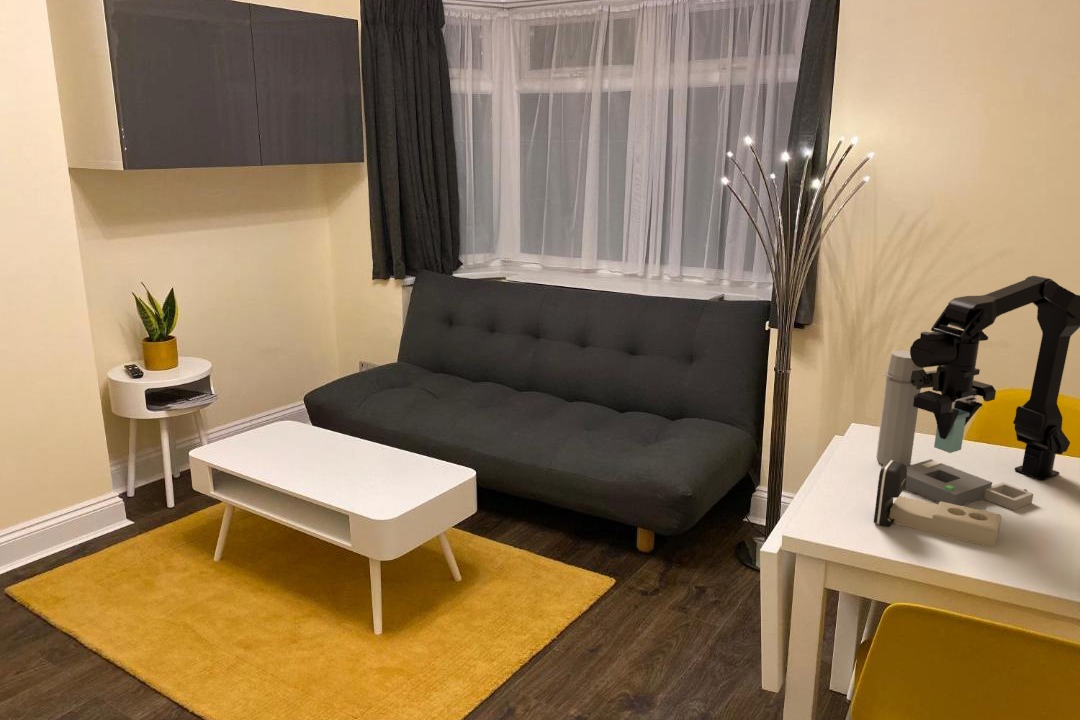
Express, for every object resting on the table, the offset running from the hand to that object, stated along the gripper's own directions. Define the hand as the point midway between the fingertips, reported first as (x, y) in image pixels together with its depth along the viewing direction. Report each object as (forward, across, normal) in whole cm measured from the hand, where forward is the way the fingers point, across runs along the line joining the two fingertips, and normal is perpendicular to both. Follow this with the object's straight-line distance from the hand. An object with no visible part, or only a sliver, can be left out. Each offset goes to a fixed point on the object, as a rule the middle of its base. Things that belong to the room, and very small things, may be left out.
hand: (948, 436), depth 175 cm
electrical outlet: (+12, +15, +11) cm, 22 cm away
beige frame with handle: (+12, -8, +10) cm, 17 cm away
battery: (+12, +22, +4) cm, 25 cm away
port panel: (+12, 0, 0) cm, 12 cm away
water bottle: (+12, -4, -15) cm, 20 cm away
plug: (+2, 0, 0) cm, 3 cm away
